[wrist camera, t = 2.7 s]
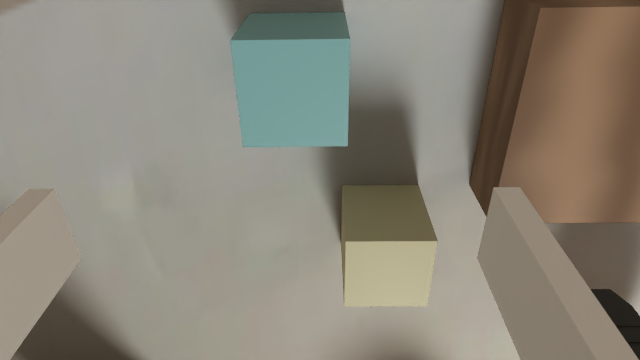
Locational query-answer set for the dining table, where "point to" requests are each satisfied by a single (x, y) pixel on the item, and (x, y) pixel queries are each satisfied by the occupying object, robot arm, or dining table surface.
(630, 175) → the walnut plinth
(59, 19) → the dining table surface
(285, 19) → the teal block
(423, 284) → the olive block
